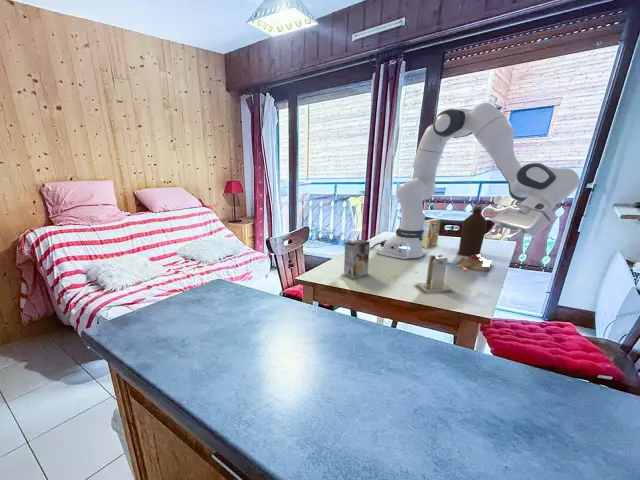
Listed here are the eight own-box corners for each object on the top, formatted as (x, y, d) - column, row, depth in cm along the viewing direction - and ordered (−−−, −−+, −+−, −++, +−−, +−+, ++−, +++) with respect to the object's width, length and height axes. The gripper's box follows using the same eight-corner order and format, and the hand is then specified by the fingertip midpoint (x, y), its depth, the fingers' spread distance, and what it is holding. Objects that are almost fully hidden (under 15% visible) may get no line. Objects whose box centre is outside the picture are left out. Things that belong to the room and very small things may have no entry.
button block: (457, 267, 154) (459, 259, 153) (461, 261, 161) (462, 253, 160) (487, 271, 147) (489, 263, 146) (490, 265, 154) (492, 257, 153)
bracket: (440, 284, 137) (446, 252, 131) (451, 291, 129) (457, 258, 124) (416, 285, 137) (421, 254, 132) (425, 293, 130) (430, 260, 124)
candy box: (430, 244, 193) (434, 218, 187) (437, 245, 189) (441, 219, 183) (420, 246, 189) (424, 220, 183) (426, 248, 186) (430, 221, 180)
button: (470, 259, 153) (471, 255, 152) (471, 257, 155) (472, 253, 155) (479, 260, 151) (480, 256, 150) (480, 258, 153) (481, 255, 153)
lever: (458, 269, 133) (461, 263, 132) (466, 273, 128) (470, 268, 127) (429, 260, 131) (432, 255, 131) (436, 264, 126) (439, 259, 125)
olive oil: (468, 258, 166) (478, 208, 156) (452, 252, 175) (460, 205, 166) (485, 255, 168) (496, 206, 158) (469, 250, 177) (478, 203, 168)
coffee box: (357, 271, 157) (360, 239, 151) (367, 275, 152) (370, 241, 145) (343, 275, 153) (344, 242, 147) (352, 279, 148) (354, 245, 142)
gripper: (508, 200, 130) (478, 225, 134) (550, 207, 111) (514, 237, 115) (516, 210, 131) (487, 235, 135) (560, 219, 112) (524, 248, 116)
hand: (500, 236), depth 125 cm, fingers open, 8 cm apart
